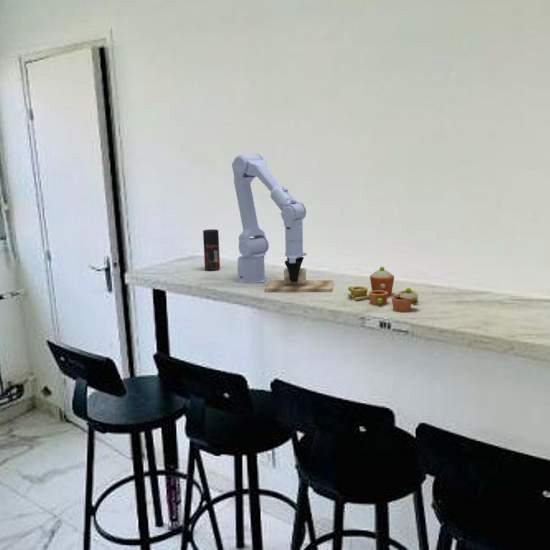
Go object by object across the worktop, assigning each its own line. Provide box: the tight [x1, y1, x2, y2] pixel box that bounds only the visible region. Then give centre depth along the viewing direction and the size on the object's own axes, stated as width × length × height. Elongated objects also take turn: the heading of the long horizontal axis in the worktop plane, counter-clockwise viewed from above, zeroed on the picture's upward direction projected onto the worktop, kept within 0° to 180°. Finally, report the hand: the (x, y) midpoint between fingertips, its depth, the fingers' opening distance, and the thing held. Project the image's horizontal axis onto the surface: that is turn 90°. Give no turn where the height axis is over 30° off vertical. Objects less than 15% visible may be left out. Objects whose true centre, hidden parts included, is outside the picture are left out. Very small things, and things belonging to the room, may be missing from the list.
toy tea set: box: [347, 266, 419, 313], centre depth 180 cm, size 26×16×10 cm, turn 33°
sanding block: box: [283, 267, 307, 286], centre depth 201 cm, size 7×4×5 cm, turn 83°
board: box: [264, 279, 334, 293], centre depth 201 cm, size 22×12×1 cm, turn 83°
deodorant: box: [202, 228, 221, 271], centre depth 235 cm, size 6×6×15 cm
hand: (294, 280), depth 201 cm, fingers closed on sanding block, 4 cm apart
